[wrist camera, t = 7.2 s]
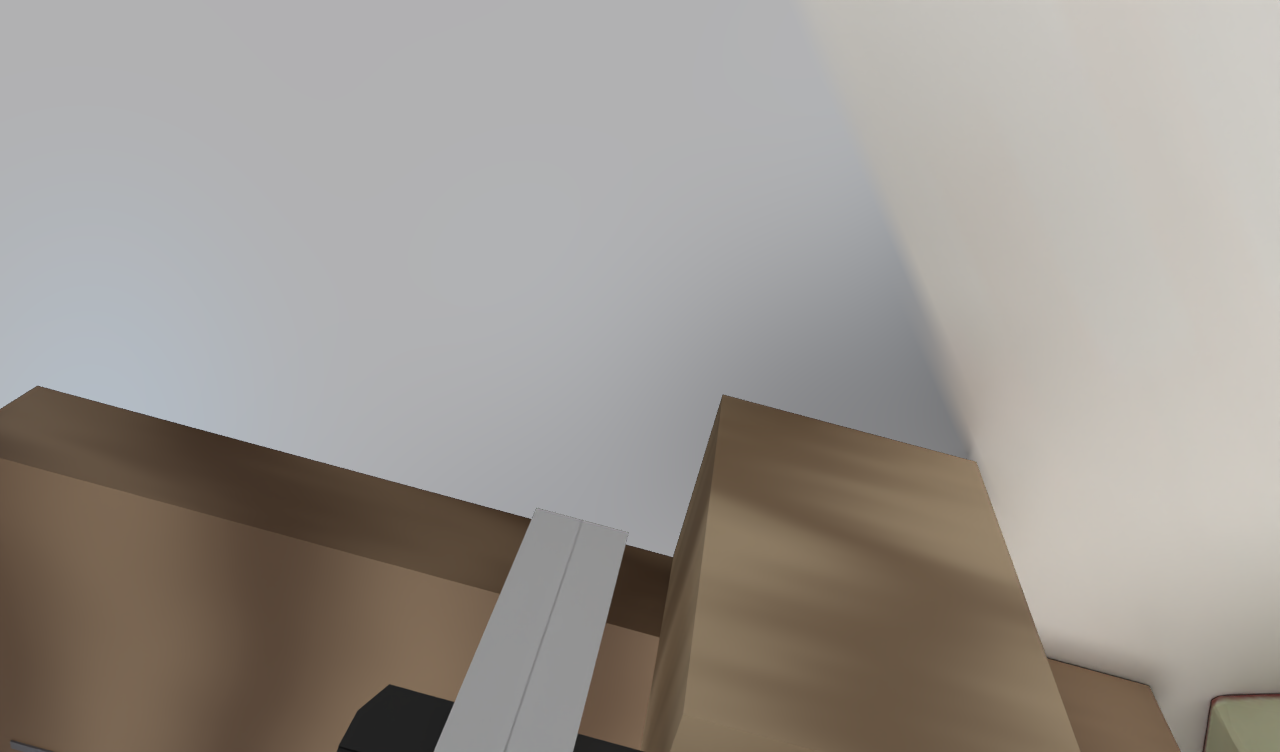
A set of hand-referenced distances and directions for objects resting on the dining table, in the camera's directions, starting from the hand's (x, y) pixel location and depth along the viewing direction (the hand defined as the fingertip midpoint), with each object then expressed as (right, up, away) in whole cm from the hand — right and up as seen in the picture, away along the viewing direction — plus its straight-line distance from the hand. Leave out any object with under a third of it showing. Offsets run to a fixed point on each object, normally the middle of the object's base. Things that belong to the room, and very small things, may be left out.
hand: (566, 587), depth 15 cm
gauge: (+4, -3, +6) cm, 8 cm away
